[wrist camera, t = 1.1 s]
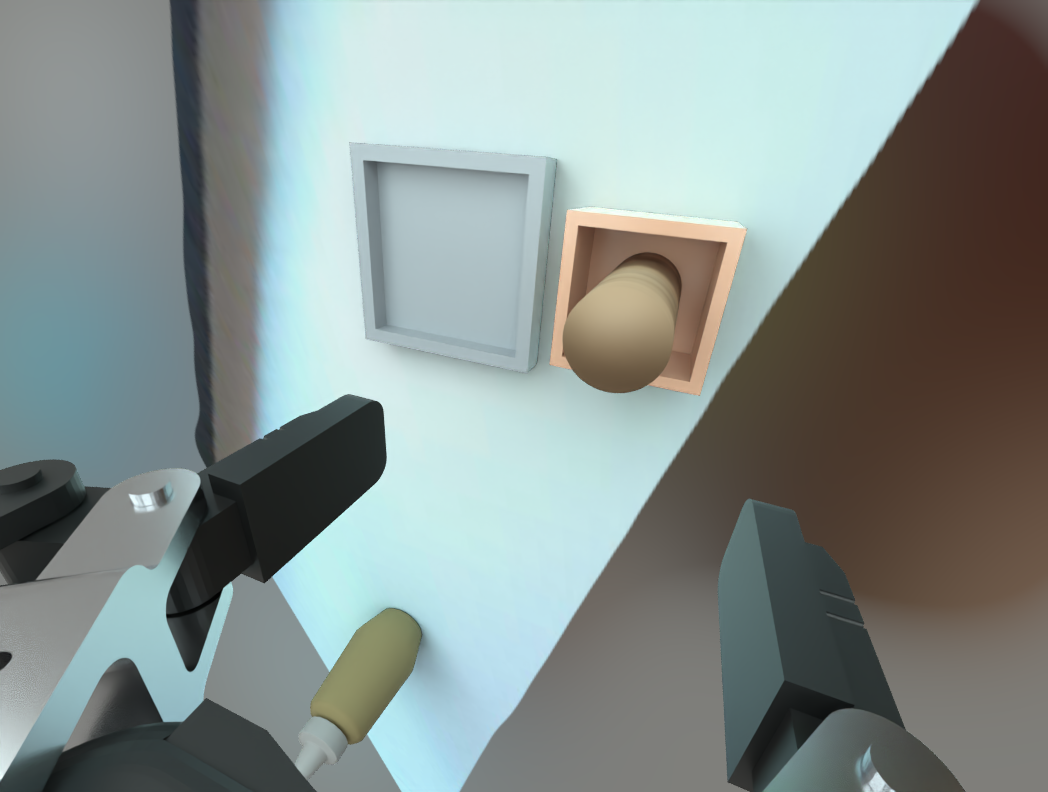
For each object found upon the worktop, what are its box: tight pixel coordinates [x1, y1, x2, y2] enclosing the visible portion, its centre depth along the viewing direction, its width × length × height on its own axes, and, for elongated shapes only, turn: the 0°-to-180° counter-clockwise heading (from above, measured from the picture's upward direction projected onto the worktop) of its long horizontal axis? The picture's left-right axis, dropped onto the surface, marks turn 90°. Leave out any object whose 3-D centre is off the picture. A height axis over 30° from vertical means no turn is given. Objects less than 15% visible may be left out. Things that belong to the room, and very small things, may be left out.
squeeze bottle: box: [294, 608, 422, 781], centre depth 47 cm, size 8×8×18 cm
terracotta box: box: [550, 207, 747, 396], centre depth 27 cm, size 9×9×6 cm
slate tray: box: [349, 142, 557, 373], centre depth 32 cm, size 14×14×2 cm
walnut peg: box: [562, 252, 682, 393], centre depth 23 cm, size 4×4×12 cm
